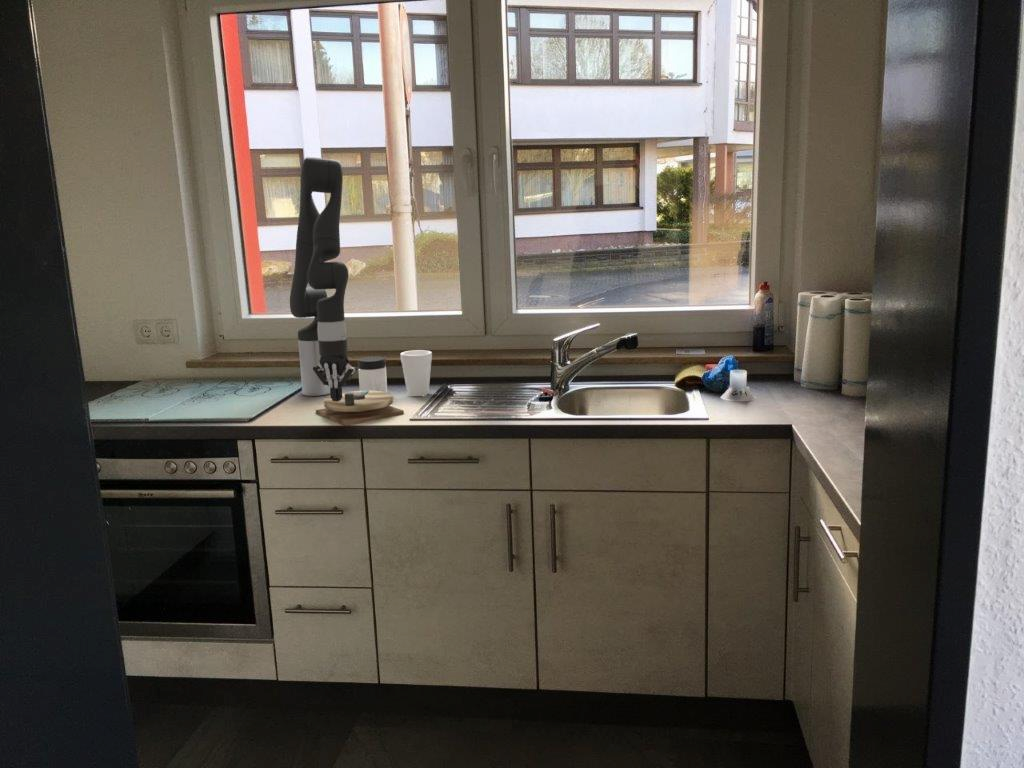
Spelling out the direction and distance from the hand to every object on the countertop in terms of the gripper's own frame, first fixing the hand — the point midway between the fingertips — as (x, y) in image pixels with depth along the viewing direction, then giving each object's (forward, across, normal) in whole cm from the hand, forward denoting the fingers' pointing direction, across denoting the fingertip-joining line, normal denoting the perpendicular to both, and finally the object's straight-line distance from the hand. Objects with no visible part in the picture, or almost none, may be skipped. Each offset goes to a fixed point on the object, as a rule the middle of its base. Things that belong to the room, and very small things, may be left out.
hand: (336, 400), depth 225 cm
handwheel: (+3, +2, +8) cm, 9 cm away
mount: (+6, +2, +8) cm, 10 cm away
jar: (+6, -5, +27) cm, 28 cm away
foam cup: (+6, +6, +34) cm, 36 cm away
